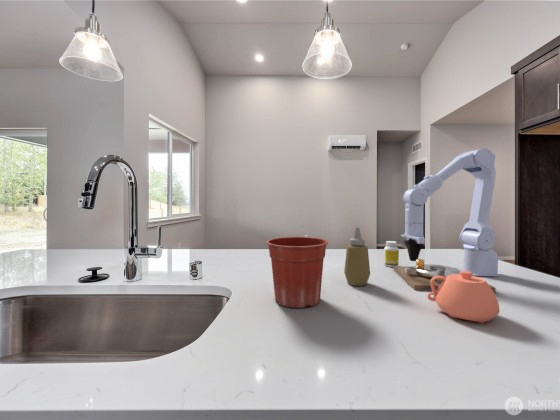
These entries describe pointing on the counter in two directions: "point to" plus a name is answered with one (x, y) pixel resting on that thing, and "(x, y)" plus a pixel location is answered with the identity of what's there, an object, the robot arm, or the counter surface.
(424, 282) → the post board
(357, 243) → the squeeze bottle
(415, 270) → the silver rounded shallow piece
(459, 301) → the sugar bowl
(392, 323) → the counter surface
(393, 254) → the supplement bottle
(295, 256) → the flower pot
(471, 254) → the robot arm
